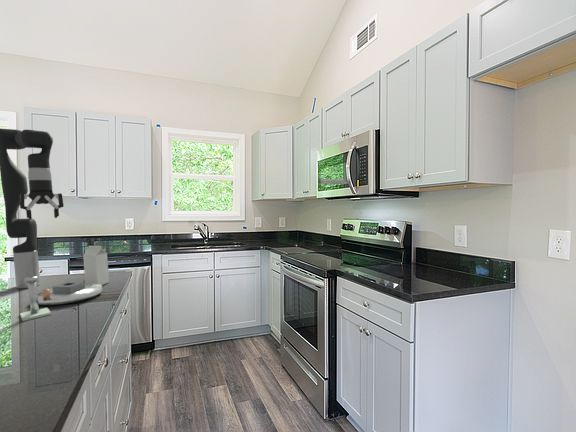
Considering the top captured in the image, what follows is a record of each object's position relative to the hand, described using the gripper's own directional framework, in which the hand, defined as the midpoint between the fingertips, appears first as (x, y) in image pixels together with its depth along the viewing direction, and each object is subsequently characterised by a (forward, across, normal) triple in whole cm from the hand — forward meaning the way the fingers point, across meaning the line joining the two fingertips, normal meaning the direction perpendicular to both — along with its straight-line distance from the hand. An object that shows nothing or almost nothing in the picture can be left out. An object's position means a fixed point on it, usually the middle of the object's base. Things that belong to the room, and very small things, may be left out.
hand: (43, 218), depth 133 cm
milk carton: (+34, +20, +9) cm, 41 cm away
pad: (+34, -7, -20) cm, 40 cm away
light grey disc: (+33, +6, -6) cm, 34 cm away
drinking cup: (+34, +21, +22) cm, 46 cm away
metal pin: (+33, -7, -20) cm, 39 cm away
